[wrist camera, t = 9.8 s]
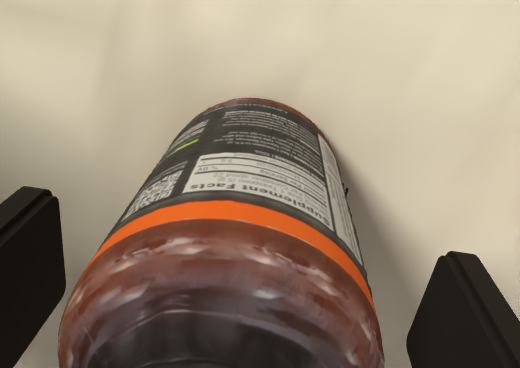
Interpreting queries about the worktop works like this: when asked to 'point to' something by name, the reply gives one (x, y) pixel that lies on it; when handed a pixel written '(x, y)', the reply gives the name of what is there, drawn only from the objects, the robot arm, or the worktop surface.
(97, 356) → the supplement bottle
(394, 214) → the worktop surface
